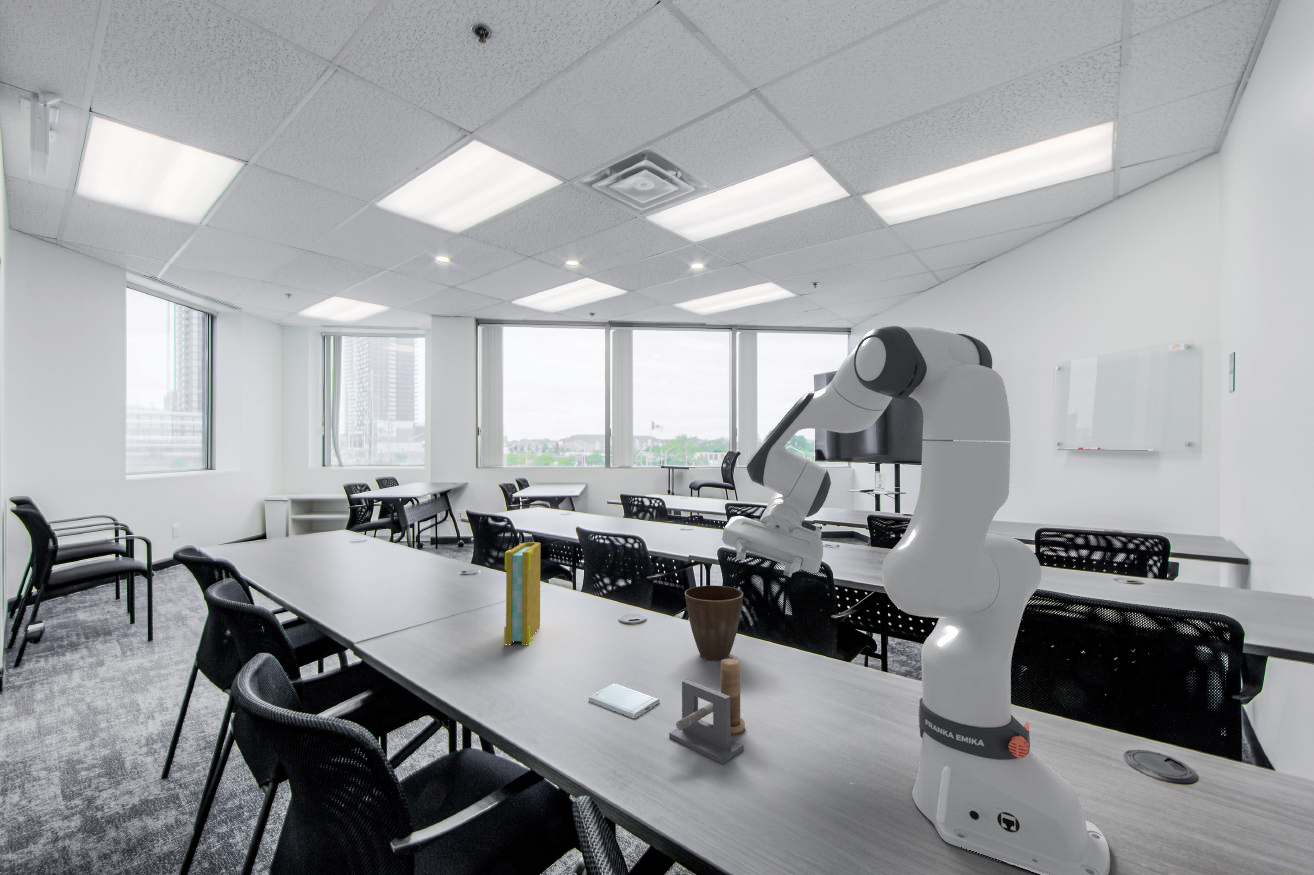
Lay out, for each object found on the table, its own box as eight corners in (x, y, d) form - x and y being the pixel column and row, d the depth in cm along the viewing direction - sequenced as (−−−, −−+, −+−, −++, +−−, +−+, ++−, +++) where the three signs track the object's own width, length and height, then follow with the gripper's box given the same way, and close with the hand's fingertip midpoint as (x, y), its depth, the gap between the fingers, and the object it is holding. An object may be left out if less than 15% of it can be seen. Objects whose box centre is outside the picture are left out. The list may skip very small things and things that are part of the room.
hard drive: (588, 696, 108) (634, 713, 100) (614, 682, 114) (659, 697, 107) (588, 704, 108) (634, 721, 100) (614, 690, 114) (659, 705, 107)
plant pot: (738, 670, 123) (737, 602, 124) (678, 662, 128) (677, 597, 128) (748, 648, 137) (747, 587, 138) (693, 642, 142) (693, 583, 143)
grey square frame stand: (743, 749, 90) (743, 693, 90) (722, 764, 85) (722, 705, 86) (690, 724, 98) (690, 673, 98) (669, 737, 94) (669, 683, 94)
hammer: (750, 727, 97) (749, 662, 98) (691, 766, 85) (690, 691, 85) (727, 717, 101) (727, 654, 101) (668, 753, 89) (667, 682, 89)
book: (528, 645, 140) (529, 552, 141) (504, 645, 140) (504, 552, 141) (543, 625, 157) (543, 542, 158) (521, 625, 157) (521, 542, 158)
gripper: (734, 502, 114) (714, 534, 103) (829, 531, 107) (819, 569, 96) (730, 526, 117) (710, 560, 105) (822, 556, 110) (812, 595, 98)
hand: (763, 565), depth 100 cm, fingers open, 8 cm apart
